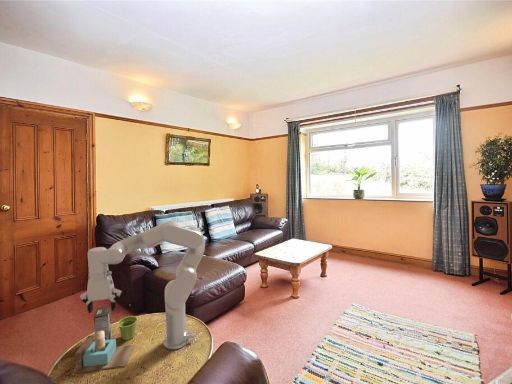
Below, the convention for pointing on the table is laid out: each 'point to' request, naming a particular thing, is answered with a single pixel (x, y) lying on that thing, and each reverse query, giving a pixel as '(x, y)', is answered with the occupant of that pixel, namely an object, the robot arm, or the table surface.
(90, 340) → the backstop board
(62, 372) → the table surface
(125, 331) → the plant pot
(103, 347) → the dowel
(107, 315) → the coffee box
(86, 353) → the hole block
